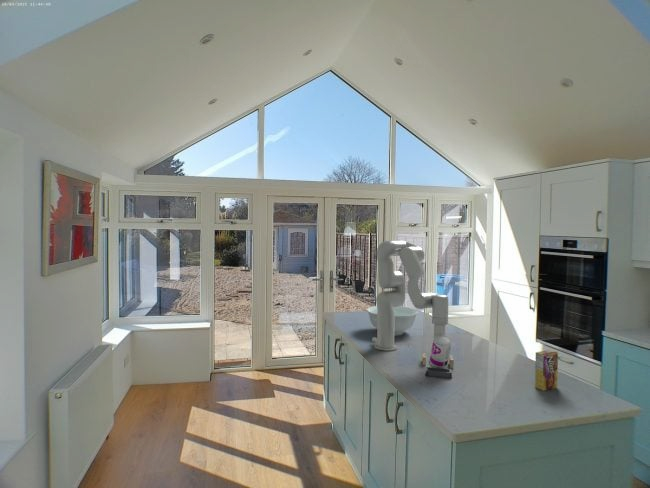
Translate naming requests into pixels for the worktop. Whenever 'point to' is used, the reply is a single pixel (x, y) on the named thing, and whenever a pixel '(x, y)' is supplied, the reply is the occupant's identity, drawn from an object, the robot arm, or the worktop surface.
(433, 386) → the worktop surface
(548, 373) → the candy box
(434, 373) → the pit tray
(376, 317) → the bowl
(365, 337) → the worktop surface
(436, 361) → the supplement can
